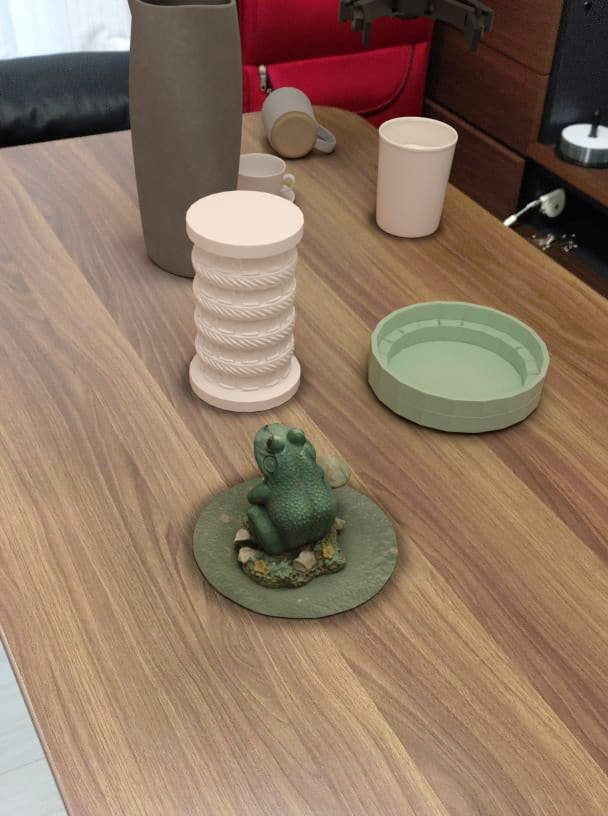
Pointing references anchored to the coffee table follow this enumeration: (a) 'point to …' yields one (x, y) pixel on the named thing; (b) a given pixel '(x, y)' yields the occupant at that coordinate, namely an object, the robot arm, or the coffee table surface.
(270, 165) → the teacup
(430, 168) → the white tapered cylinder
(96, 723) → the coffee table surface
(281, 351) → the decorative container
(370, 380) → the bowl
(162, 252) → the vase
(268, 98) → the ceramic mug
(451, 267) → the coffee table surface
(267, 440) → the frog figurine
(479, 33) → the robot arm
